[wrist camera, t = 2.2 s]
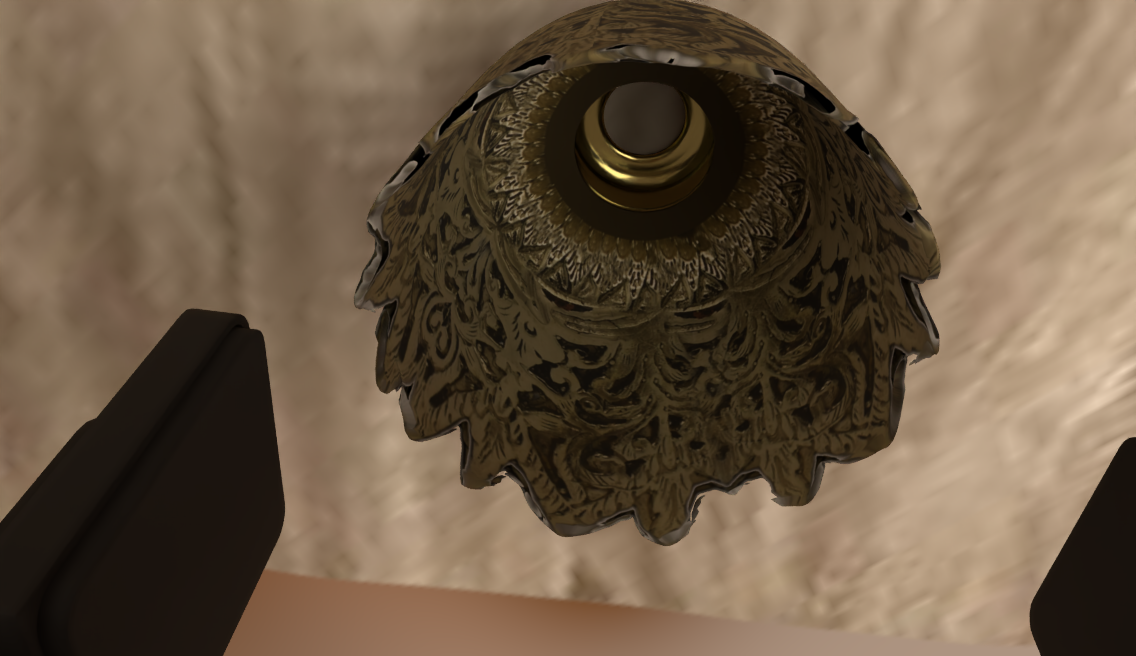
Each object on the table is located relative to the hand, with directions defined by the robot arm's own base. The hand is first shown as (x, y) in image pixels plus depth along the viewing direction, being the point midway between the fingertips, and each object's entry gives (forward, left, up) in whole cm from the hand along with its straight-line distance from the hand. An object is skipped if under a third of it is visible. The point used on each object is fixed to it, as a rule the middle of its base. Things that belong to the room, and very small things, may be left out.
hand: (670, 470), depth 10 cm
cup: (0, 0, -10) cm, 10 cm away
